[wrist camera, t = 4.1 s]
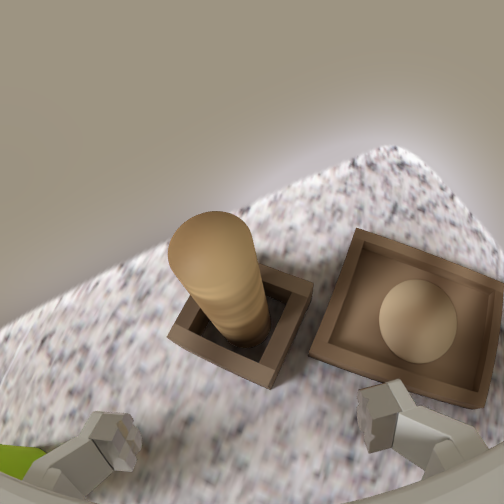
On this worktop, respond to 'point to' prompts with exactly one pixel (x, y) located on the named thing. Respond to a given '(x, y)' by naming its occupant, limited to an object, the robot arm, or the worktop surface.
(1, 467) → the soap dispenser
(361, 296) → the tray
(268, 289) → the socket
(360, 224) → the worktop surface
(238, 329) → the dowel
